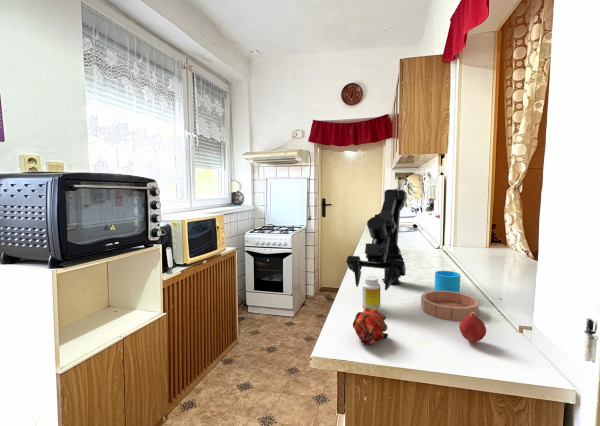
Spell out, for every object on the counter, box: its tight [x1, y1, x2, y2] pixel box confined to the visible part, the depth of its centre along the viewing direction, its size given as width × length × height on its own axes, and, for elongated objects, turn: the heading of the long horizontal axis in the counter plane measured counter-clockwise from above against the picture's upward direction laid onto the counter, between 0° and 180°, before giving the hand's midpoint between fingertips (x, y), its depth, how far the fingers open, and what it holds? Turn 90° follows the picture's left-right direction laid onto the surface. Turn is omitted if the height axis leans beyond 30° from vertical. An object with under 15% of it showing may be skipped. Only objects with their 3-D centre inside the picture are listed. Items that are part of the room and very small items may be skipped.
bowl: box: [420, 290, 480, 322], centre depth 100 cm, size 16×16×4 cm
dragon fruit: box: [352, 308, 389, 346], centre depth 82 cm, size 8×8×12 cm
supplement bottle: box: [362, 276, 381, 312], centre depth 102 cm, size 6×6×10 cm
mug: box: [434, 270, 461, 293], centre depth 115 cm, size 12×8×8 cm
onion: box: [459, 312, 487, 345], centre depth 79 cm, size 6×6×8 cm
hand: (370, 287), depth 101 cm, fingers open, 9 cm apart
